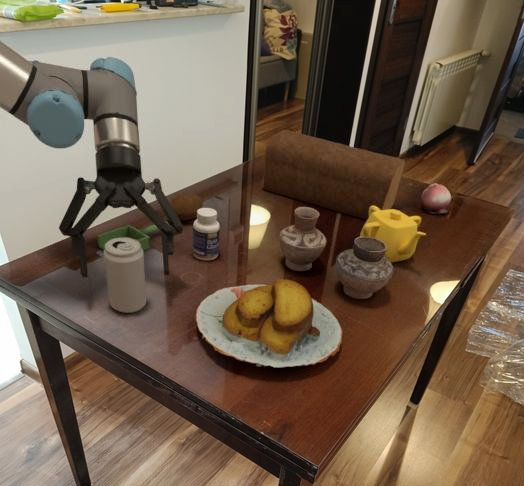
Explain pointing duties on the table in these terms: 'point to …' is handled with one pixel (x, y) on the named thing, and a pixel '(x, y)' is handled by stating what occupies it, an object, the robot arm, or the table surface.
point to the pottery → (347, 262)
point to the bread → (330, 174)
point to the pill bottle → (206, 234)
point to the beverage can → (125, 274)
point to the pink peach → (435, 199)
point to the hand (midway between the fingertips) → (126, 274)
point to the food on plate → (269, 325)
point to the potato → (186, 206)
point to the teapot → (393, 232)
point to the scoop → (129, 235)
